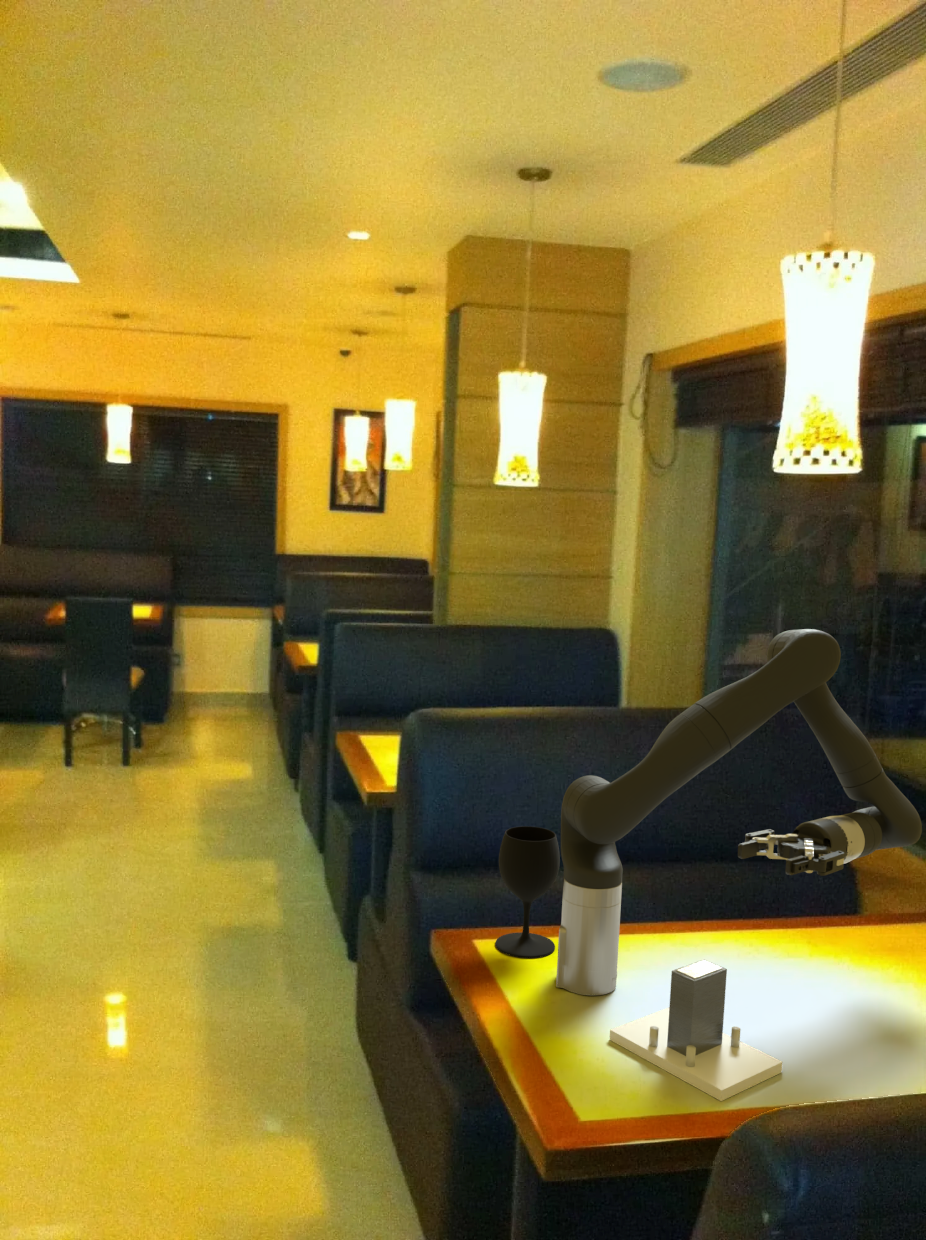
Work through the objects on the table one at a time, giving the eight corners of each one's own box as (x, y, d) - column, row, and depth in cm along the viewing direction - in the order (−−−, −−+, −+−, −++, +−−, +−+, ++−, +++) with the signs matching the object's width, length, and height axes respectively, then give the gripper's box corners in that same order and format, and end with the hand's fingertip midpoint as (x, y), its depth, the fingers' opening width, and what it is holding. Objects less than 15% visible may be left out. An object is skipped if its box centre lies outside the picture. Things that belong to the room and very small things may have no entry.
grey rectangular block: (667, 1046, 156) (671, 969, 155) (699, 1033, 161) (704, 958, 160) (689, 1058, 153) (694, 980, 152) (721, 1044, 158) (726, 968, 156)
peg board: (609, 1039, 161) (610, 1013, 160) (669, 1016, 169) (671, 991, 168) (721, 1101, 145) (723, 1072, 145) (781, 1072, 153) (783, 1044, 153)
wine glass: (511, 962, 187) (516, 845, 184) (485, 938, 196) (490, 827, 194) (566, 954, 191) (572, 839, 189) (538, 931, 200) (543, 822, 198)
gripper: (791, 807, 179) (726, 822, 169) (871, 830, 168) (806, 847, 158) (788, 853, 180) (723, 870, 170) (867, 878, 169) (802, 899, 159)
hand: (763, 859), depth 164 cm, fingers open, 8 cm apart
